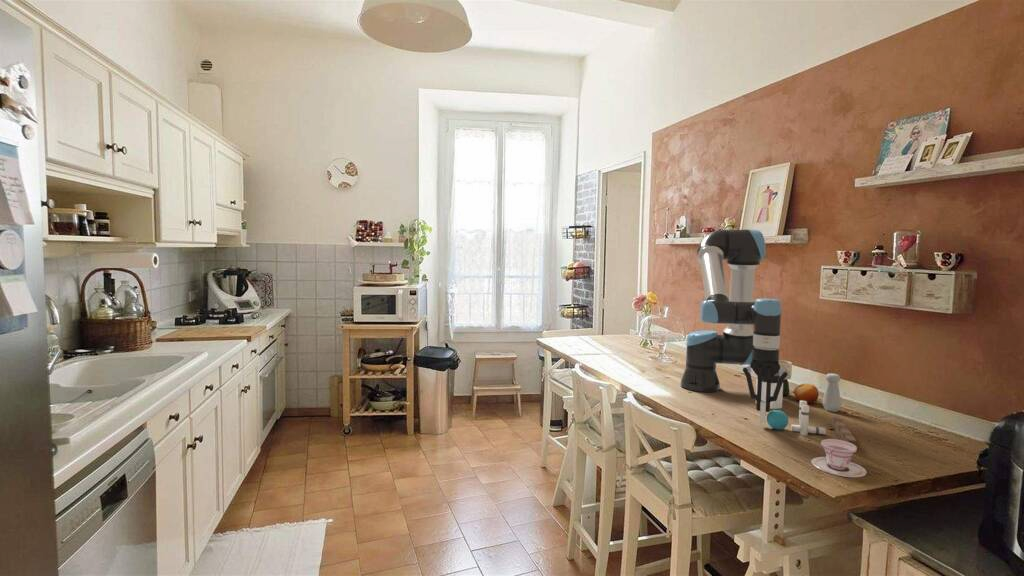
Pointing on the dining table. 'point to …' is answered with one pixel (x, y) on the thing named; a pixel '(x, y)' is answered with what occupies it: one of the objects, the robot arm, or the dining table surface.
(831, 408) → the salt shaker
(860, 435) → the dining table surface
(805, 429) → the pin
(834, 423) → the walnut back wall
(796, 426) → the front pin
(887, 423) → the dining table surface
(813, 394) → the fruit
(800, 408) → the pin
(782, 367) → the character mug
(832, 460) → the teacup
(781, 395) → the jar
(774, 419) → the teal ball
